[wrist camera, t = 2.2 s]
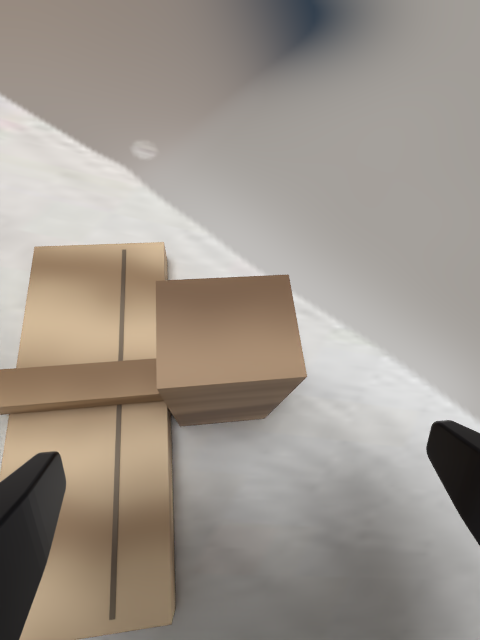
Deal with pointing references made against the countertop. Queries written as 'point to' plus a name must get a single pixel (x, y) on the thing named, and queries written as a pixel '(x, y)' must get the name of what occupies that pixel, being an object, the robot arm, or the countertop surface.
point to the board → (99, 445)
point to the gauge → (187, 357)
